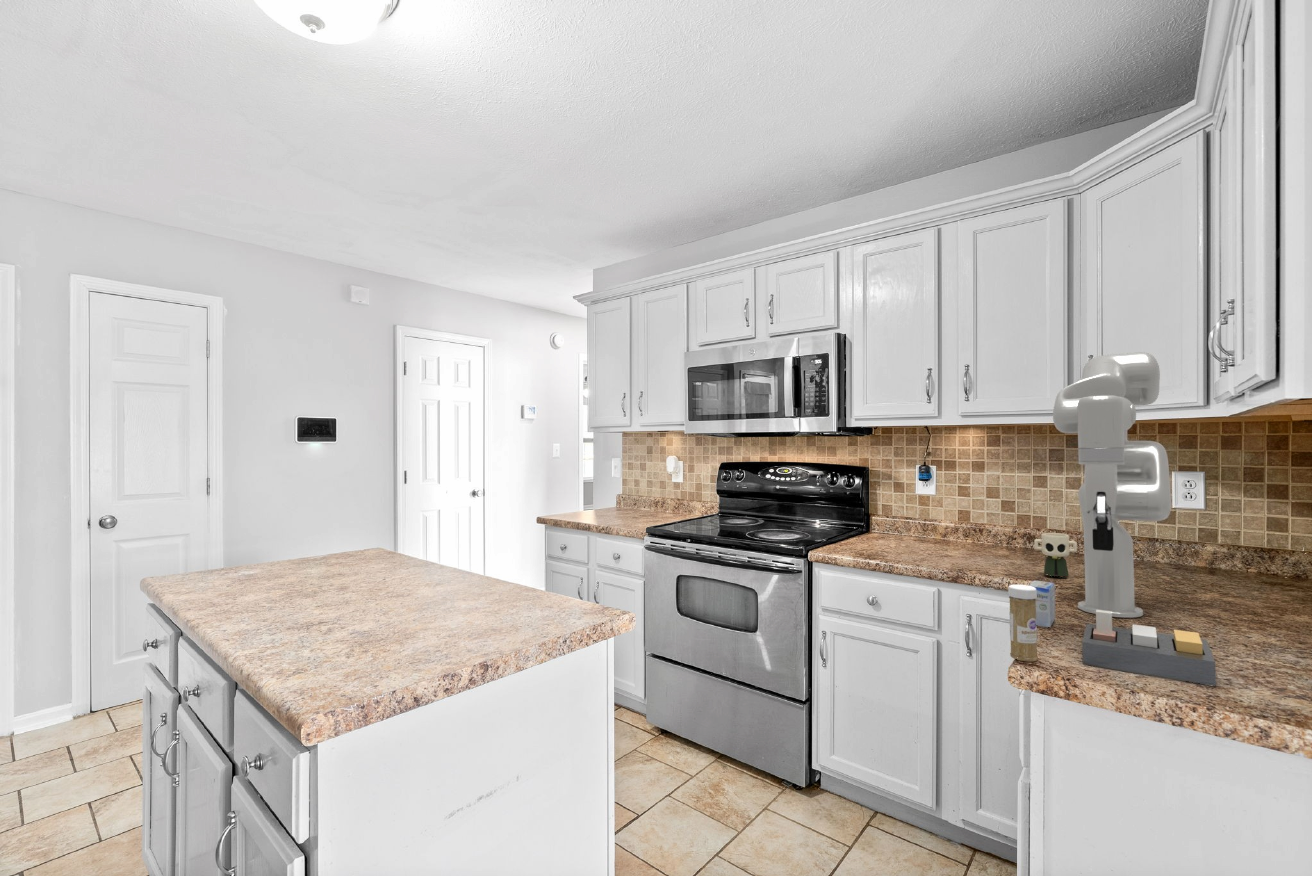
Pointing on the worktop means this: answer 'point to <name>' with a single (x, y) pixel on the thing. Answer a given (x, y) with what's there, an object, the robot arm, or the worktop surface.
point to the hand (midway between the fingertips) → (1103, 547)
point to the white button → (1144, 636)
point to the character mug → (1055, 552)
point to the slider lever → (1104, 626)
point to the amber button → (1188, 642)
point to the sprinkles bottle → (1023, 622)
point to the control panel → (1149, 657)
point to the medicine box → (1044, 603)
